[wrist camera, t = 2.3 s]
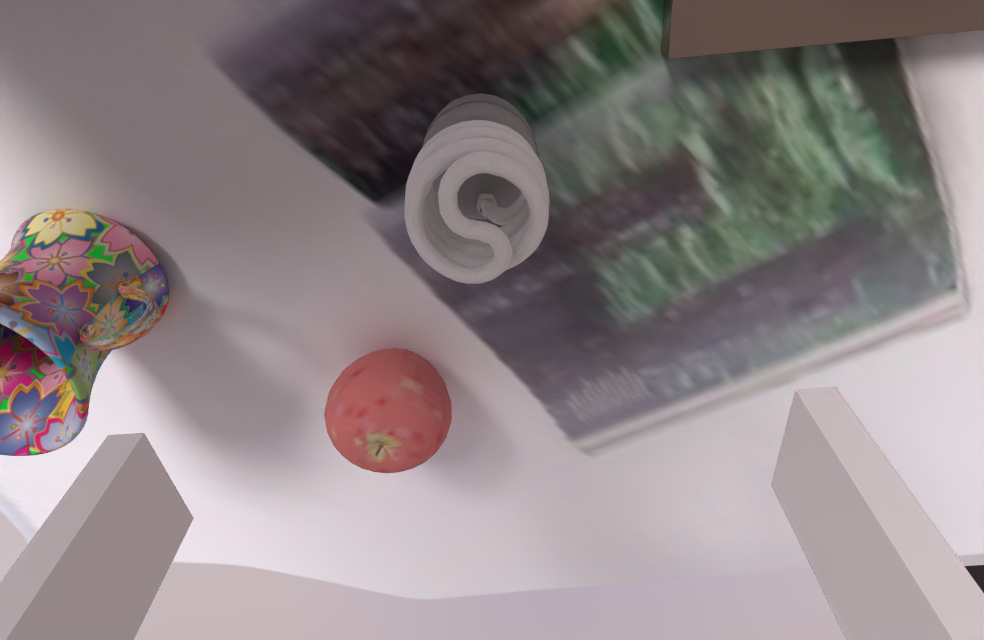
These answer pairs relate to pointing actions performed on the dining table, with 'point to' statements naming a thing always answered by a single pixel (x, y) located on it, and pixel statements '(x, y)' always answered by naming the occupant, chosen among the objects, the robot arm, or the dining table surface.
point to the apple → (388, 411)
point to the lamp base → (805, 23)
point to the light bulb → (477, 191)
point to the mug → (67, 320)
